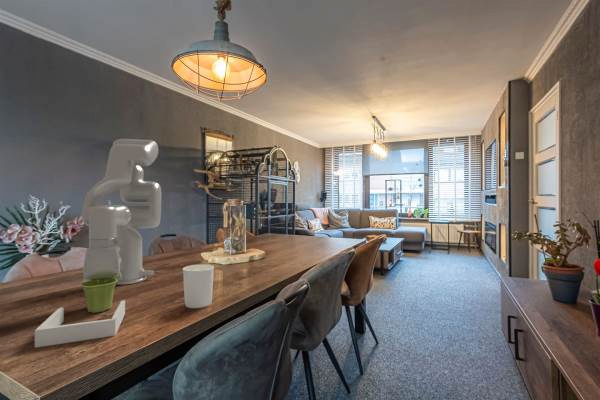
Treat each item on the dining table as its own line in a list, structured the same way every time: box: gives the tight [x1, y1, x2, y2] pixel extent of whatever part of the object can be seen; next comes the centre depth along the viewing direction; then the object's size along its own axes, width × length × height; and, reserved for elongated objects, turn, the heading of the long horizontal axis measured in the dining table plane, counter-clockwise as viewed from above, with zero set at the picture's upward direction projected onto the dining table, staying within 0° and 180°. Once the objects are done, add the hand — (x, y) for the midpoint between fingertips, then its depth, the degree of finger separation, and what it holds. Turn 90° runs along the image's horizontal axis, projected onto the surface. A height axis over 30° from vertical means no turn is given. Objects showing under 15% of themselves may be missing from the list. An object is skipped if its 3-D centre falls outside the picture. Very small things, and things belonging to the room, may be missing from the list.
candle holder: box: [182, 263, 215, 309], centre depth 97 cm, size 10×10×12 cm
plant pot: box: [80, 278, 117, 314], centre depth 92 cm, size 9×9×9 cm
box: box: [34, 299, 126, 348], centre depth 78 cm, size 16×16×4 cm
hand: (102, 299), depth 97 cm, fingers closed
